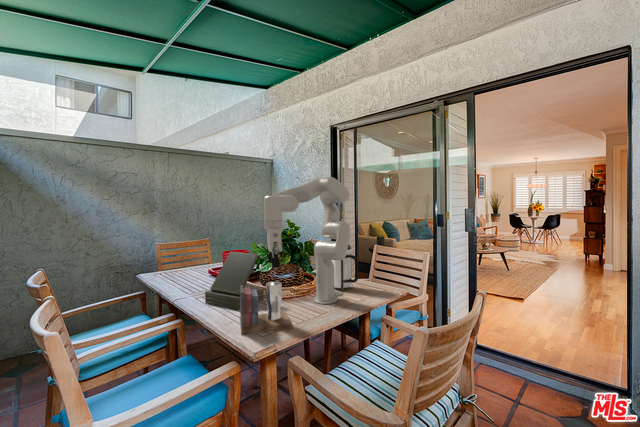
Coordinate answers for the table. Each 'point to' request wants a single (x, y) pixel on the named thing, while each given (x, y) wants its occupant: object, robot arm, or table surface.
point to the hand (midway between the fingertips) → (274, 264)
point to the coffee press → (345, 271)
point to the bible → (233, 281)
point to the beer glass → (273, 300)
